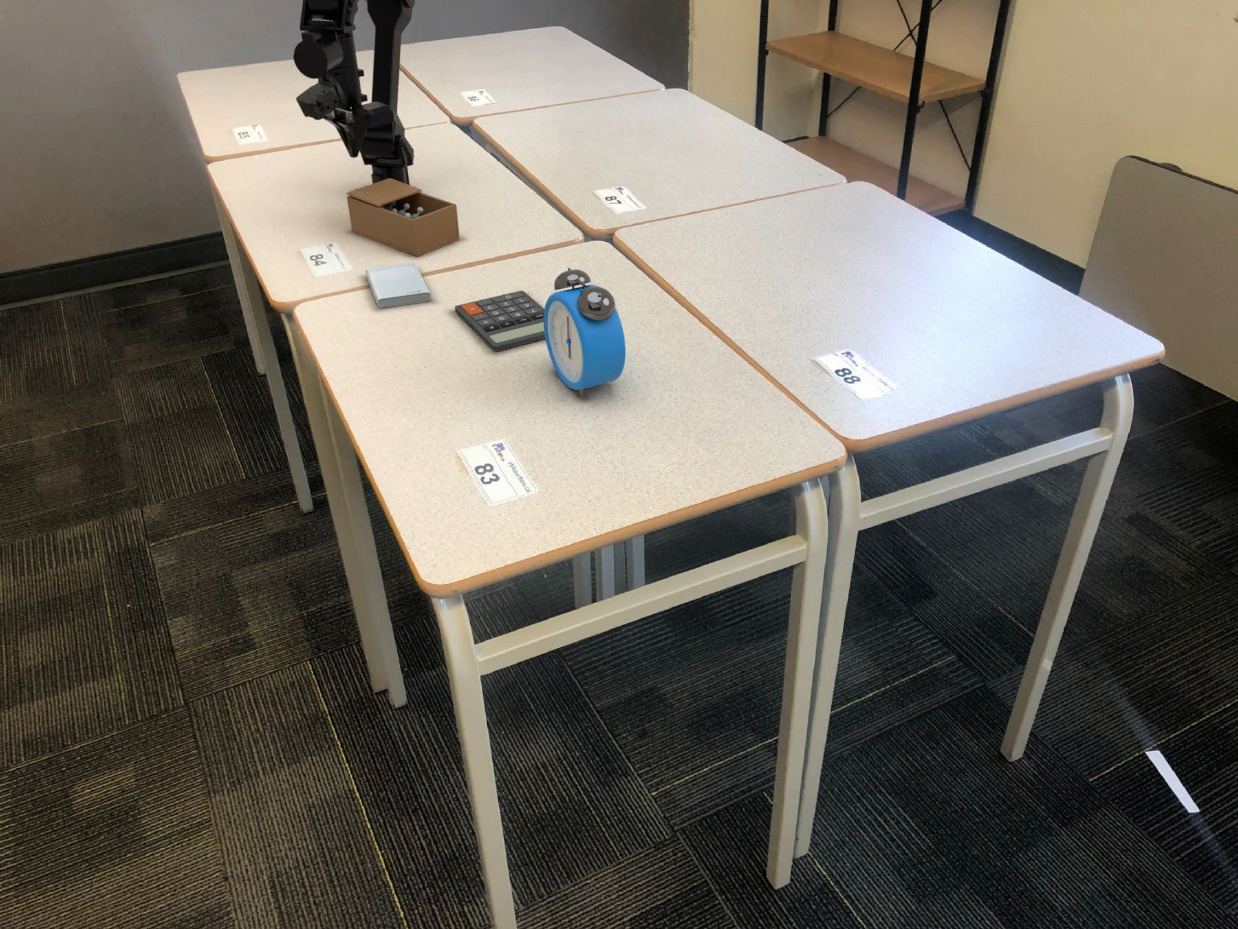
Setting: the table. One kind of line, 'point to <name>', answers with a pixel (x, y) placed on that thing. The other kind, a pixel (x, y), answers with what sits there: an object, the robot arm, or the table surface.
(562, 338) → the alarm clock
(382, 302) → the hard drive
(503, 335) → the calculator
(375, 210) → the carton
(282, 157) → the table surface
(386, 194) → the carton flap
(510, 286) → the table surface
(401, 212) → the molecular model
